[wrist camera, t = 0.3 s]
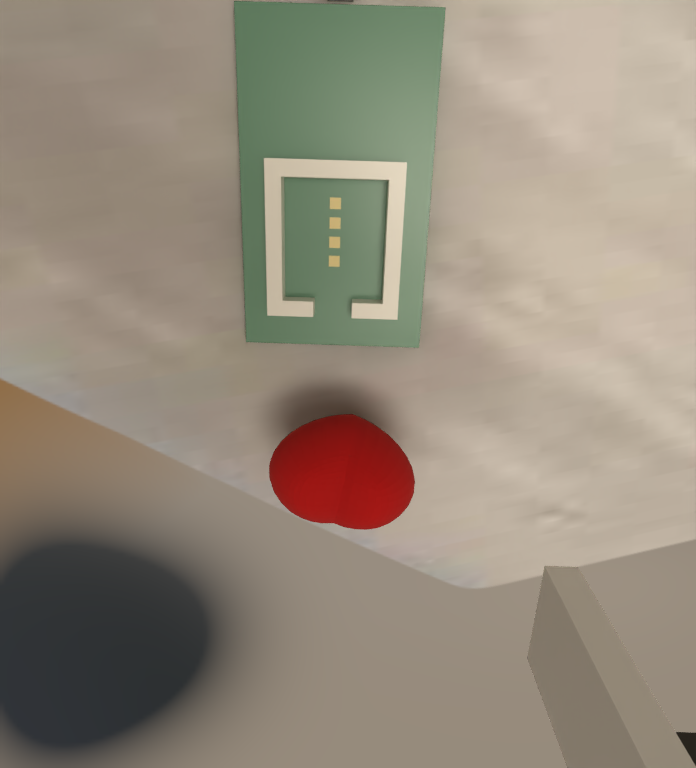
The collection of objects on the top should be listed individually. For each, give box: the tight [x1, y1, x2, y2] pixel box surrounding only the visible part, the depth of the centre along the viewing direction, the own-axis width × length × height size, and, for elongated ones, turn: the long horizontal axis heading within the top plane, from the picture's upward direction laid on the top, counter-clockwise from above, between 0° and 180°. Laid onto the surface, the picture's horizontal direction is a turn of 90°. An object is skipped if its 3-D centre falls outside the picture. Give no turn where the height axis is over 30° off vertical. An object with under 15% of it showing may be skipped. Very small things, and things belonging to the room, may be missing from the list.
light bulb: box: [269, 414, 415, 529], centre depth 36 cm, size 9×7×10 cm
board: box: [234, 1, 445, 348], centre depth 33 cm, size 20×12×3 cm, turn 178°
